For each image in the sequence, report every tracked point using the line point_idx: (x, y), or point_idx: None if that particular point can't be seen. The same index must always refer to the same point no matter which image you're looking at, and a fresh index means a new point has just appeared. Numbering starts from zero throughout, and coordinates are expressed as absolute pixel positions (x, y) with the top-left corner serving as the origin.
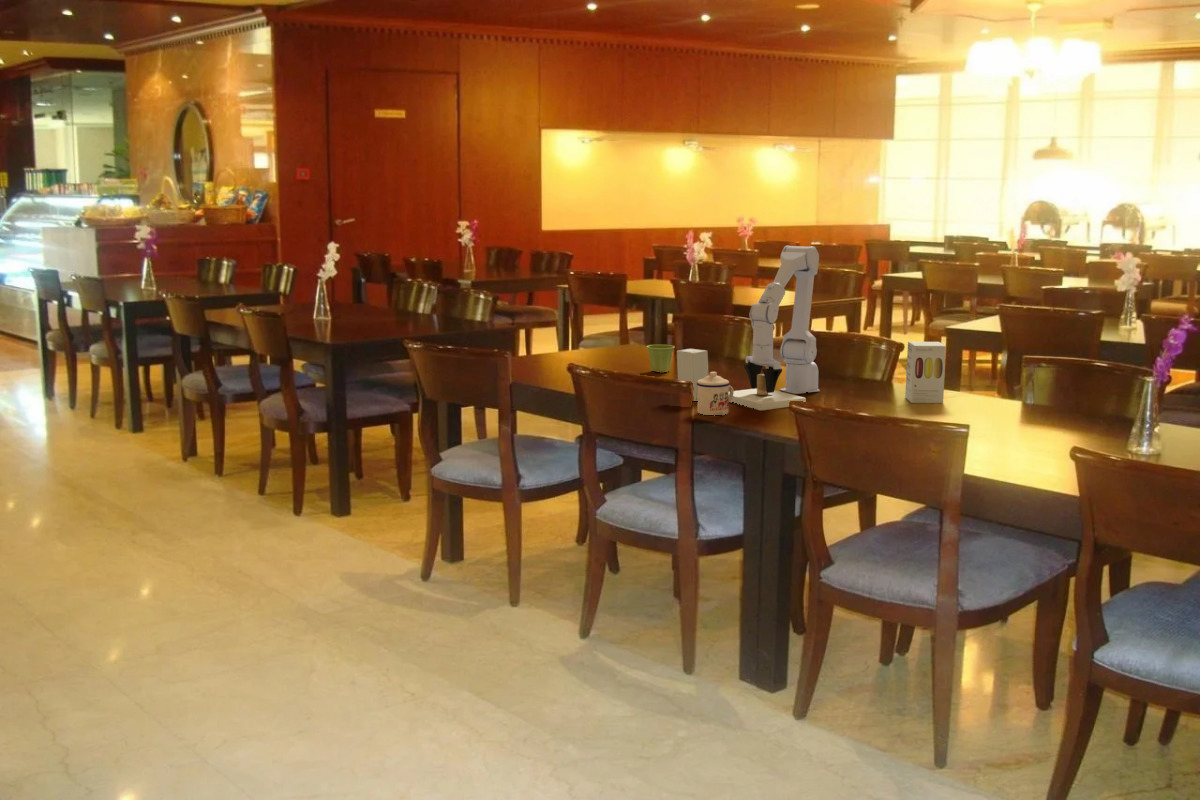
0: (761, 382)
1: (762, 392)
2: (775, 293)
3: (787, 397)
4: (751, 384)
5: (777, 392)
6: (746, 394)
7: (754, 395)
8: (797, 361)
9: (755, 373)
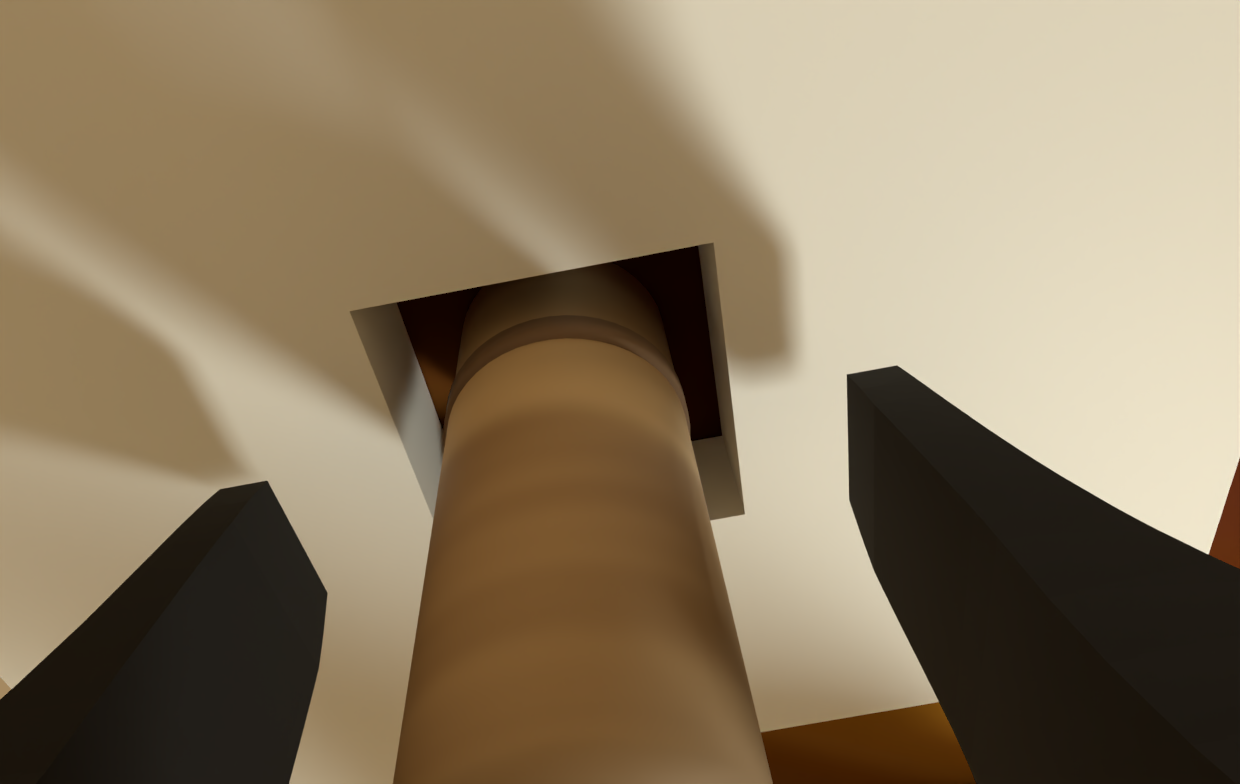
0: (438, 601)
1: (452, 434)
2: None
3: None
4: (902, 416)
5: None
6: (801, 150)
7: (716, 306)
8: None
9: (1038, 779)
